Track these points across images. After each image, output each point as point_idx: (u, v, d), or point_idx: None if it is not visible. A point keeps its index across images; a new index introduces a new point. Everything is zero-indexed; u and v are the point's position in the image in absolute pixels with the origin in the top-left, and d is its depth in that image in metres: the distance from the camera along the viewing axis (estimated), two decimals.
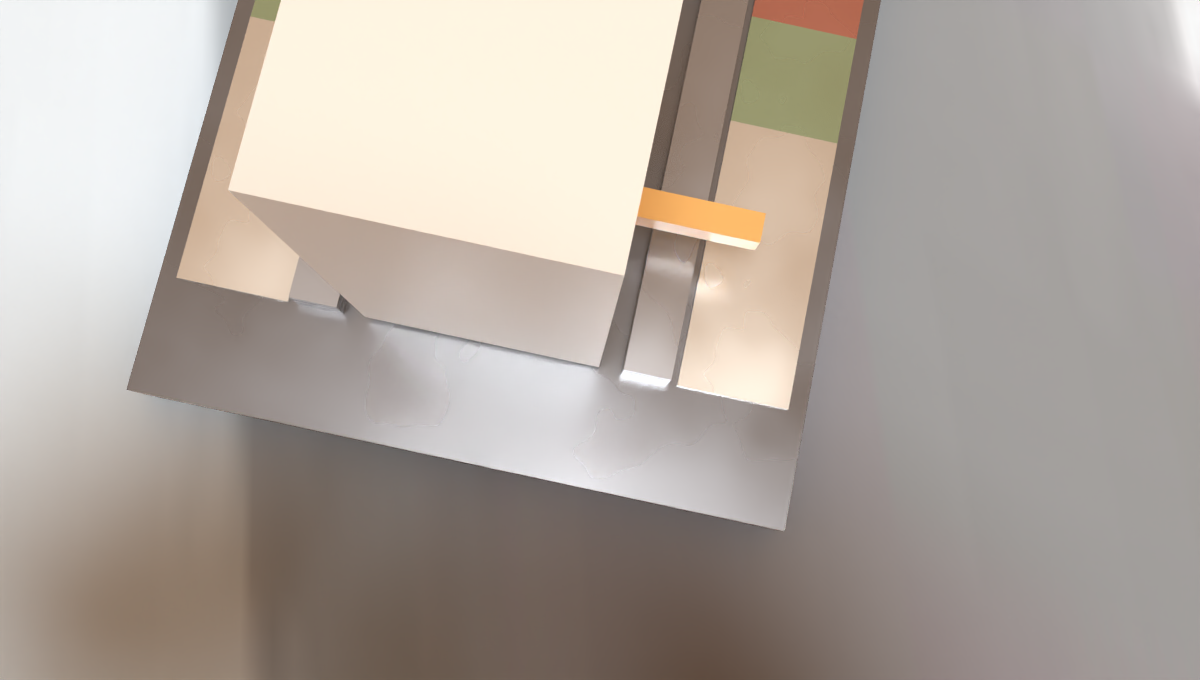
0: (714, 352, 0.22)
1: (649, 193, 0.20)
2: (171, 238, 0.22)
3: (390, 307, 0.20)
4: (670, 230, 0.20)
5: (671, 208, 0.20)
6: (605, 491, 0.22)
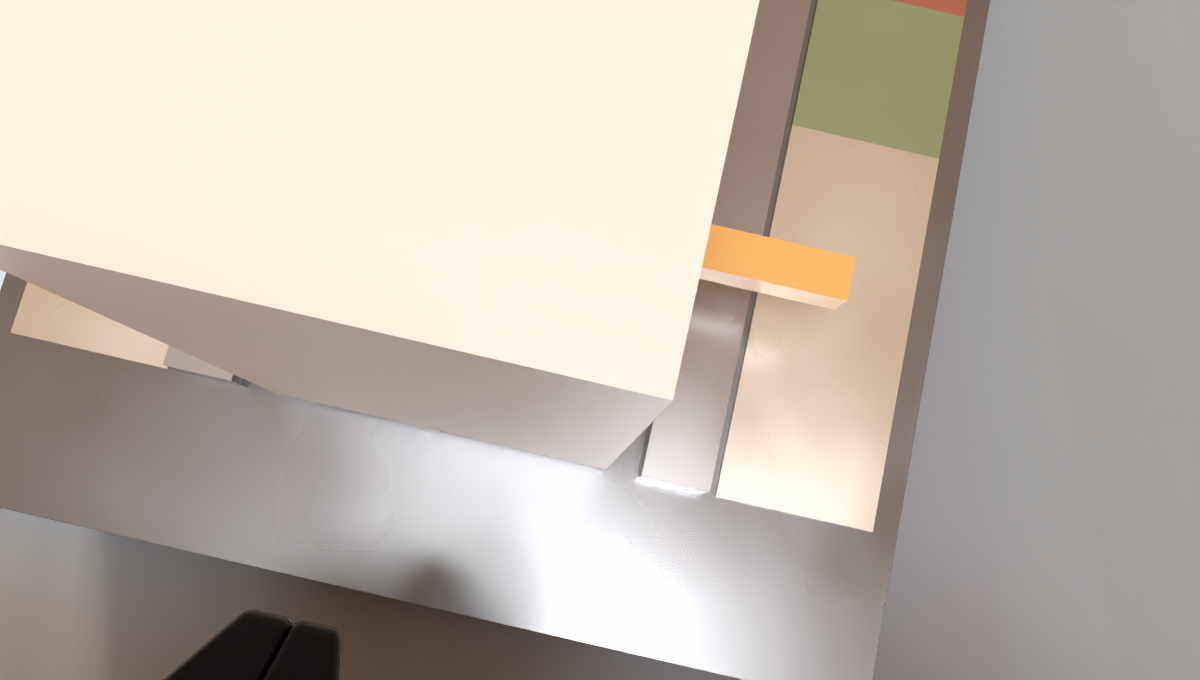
0: (768, 448, 0.16)
1: None
2: (7, 276, 0.16)
3: (299, 388, 0.13)
4: (714, 279, 0.14)
5: (717, 248, 0.14)
6: (612, 647, 0.15)
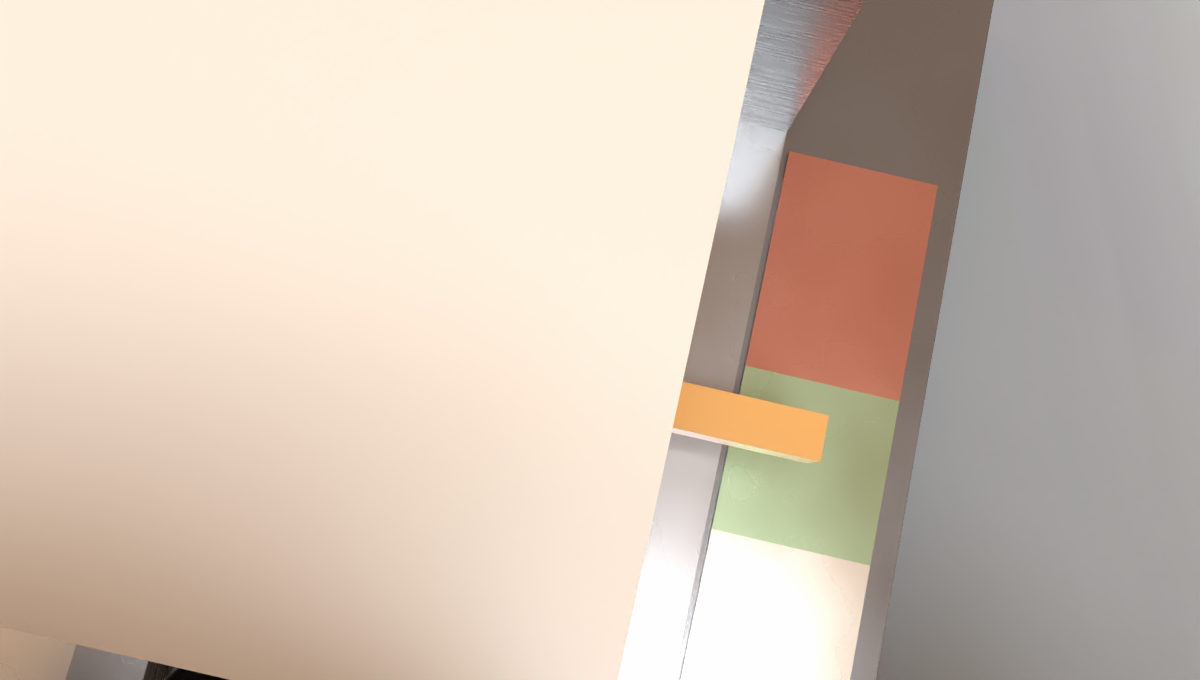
0: None
1: None
2: None
3: None
4: (683, 433, 0.13)
5: (685, 406, 0.13)
6: None
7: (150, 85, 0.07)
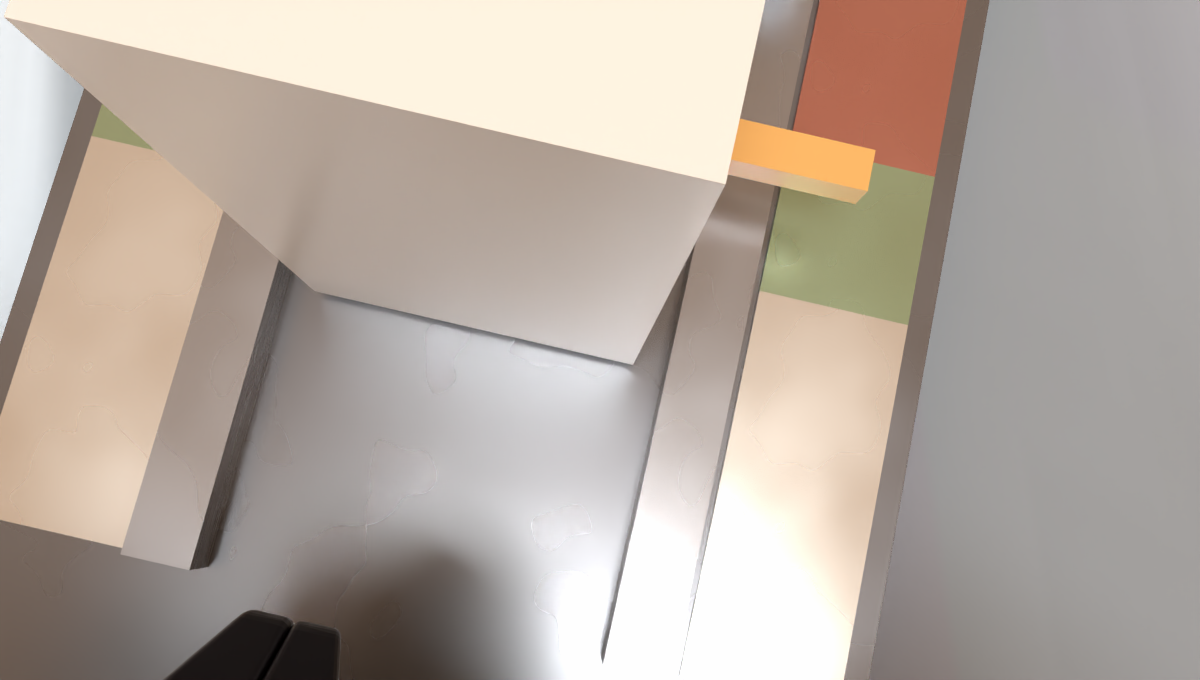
0: (733, 625, 0.16)
1: None
2: None
3: (343, 273, 0.14)
4: (739, 173, 0.15)
5: (743, 140, 0.14)
6: None
7: None
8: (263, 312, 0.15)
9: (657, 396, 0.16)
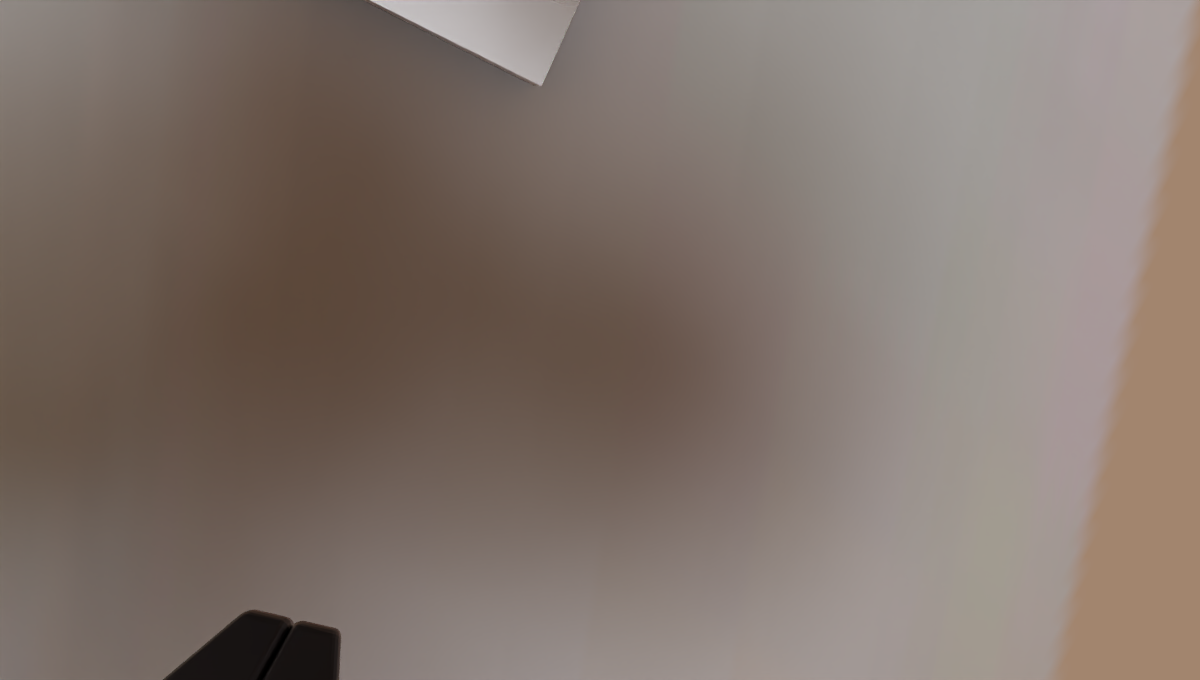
0: None
1: None
2: None
3: None
4: None
5: None
6: None
7: None
8: None
9: None
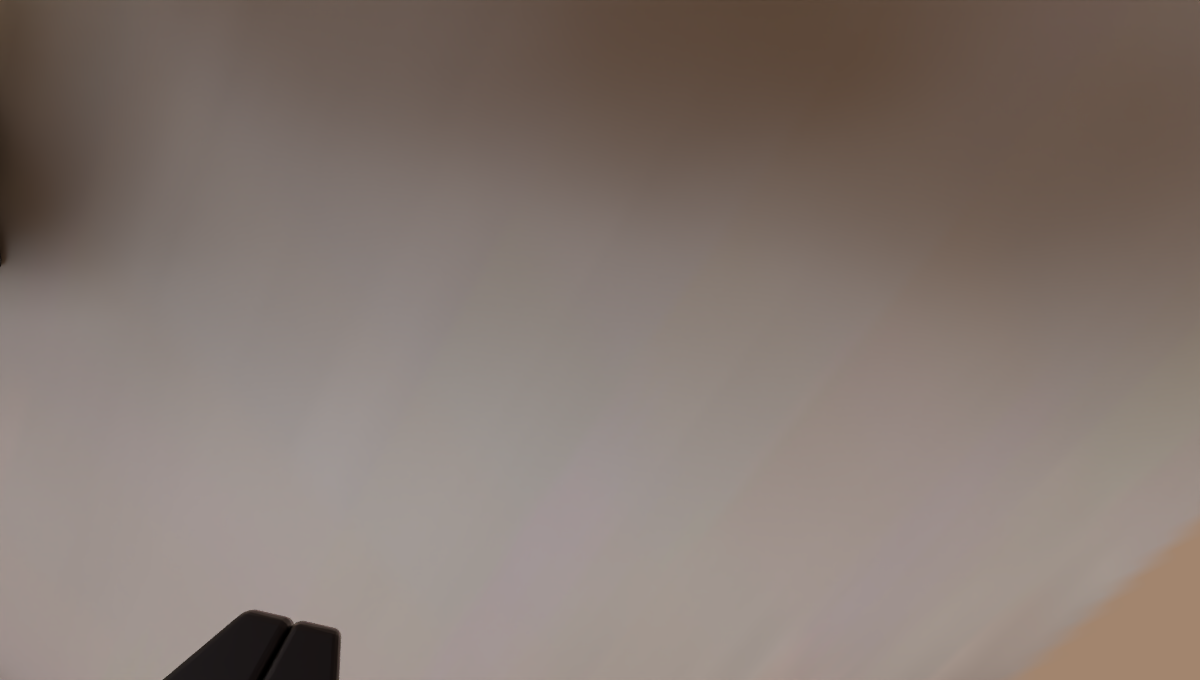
0: None
1: None
2: None
3: None
4: None
5: None
6: None
7: None
8: None
9: None
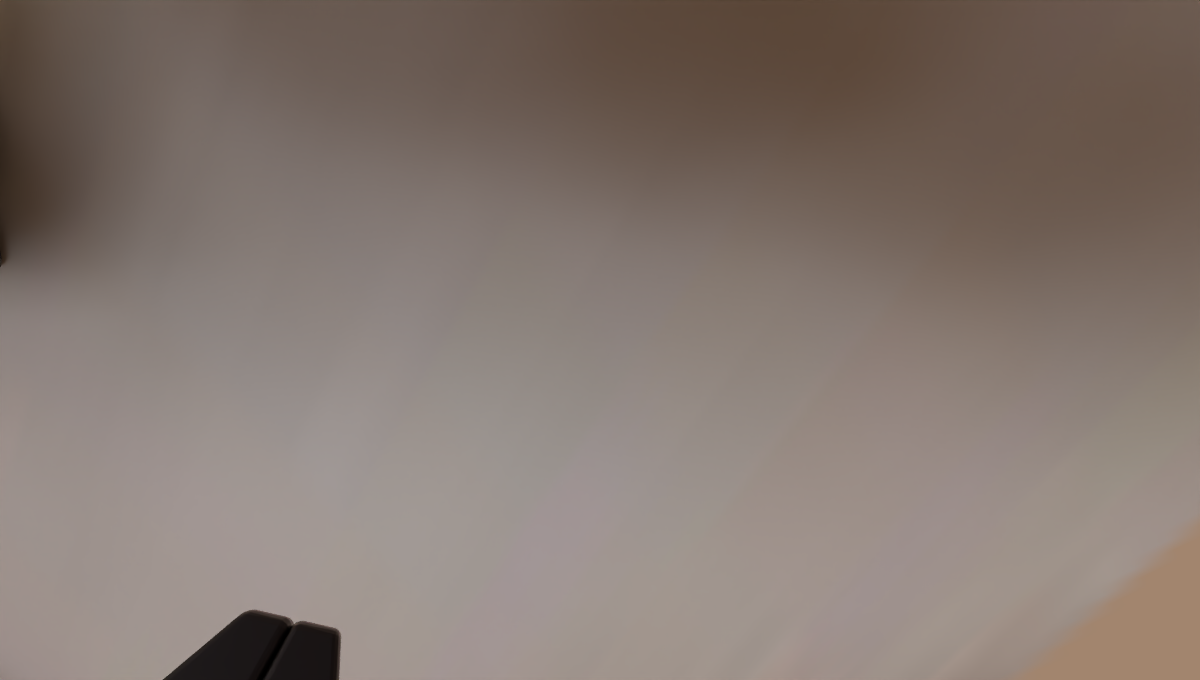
0: None
1: None
2: None
3: None
4: None
5: None
6: None
7: None
8: None
9: None
